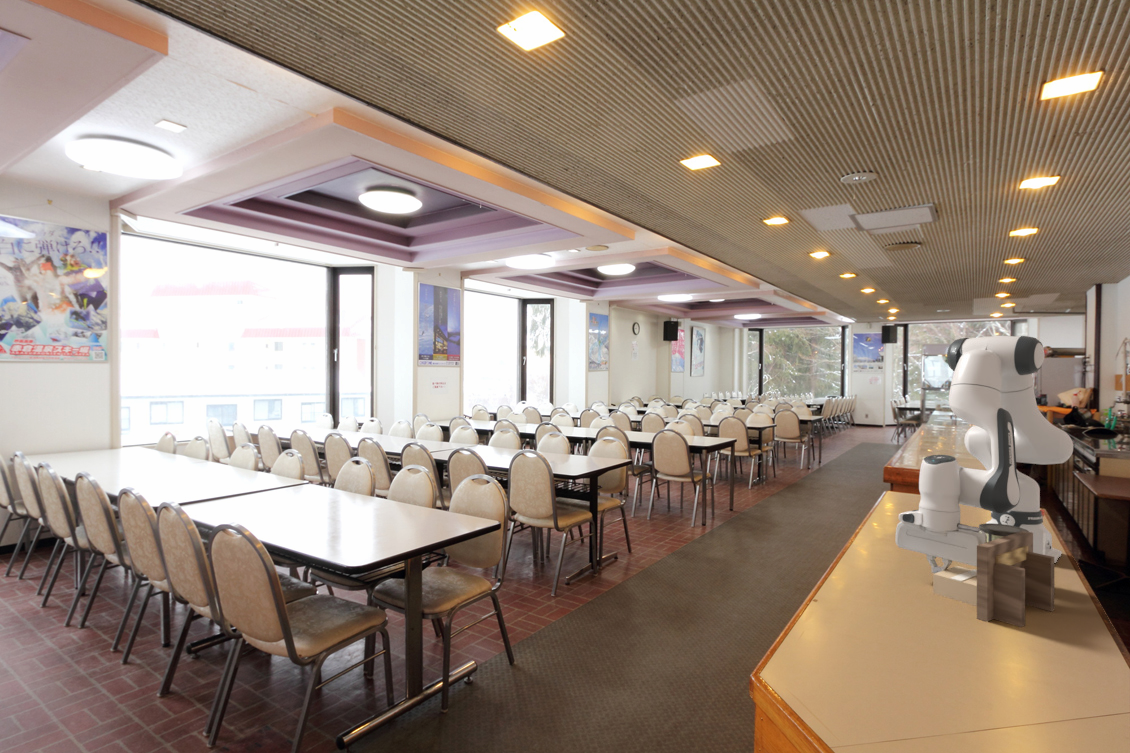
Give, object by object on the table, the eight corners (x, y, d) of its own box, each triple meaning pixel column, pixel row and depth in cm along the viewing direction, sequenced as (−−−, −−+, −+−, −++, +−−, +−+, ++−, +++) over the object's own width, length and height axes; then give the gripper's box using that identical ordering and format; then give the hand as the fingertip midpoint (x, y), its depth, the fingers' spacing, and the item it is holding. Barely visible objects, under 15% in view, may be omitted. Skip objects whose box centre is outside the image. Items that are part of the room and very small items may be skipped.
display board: (1020, 596, 138) (1020, 530, 138) (1059, 606, 132) (1059, 537, 132) (974, 617, 125) (974, 545, 125) (1014, 630, 119) (1014, 553, 119)
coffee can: (1014, 576, 152) (1014, 524, 152) (1038, 590, 142) (1038, 534, 142) (971, 574, 154) (971, 522, 154) (991, 587, 144) (991, 531, 144)
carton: (957, 585, 146) (957, 565, 146) (1003, 598, 138) (1003, 576, 138) (933, 594, 140) (933, 573, 140) (979, 608, 131) (979, 585, 131)
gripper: (992, 527, 137) (992, 584, 137) (905, 510, 155) (904, 561, 154) (980, 530, 134) (980, 589, 134) (892, 513, 151) (892, 565, 151)
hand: (939, 574), depth 144 cm, fingers closed
